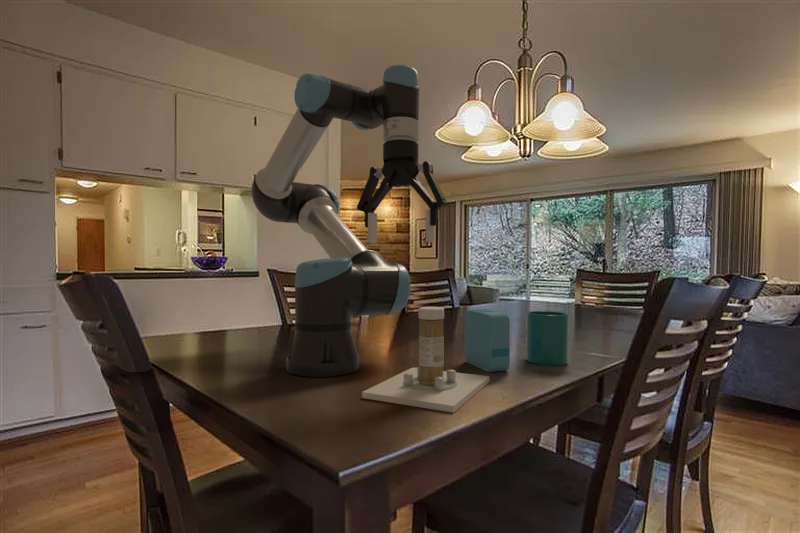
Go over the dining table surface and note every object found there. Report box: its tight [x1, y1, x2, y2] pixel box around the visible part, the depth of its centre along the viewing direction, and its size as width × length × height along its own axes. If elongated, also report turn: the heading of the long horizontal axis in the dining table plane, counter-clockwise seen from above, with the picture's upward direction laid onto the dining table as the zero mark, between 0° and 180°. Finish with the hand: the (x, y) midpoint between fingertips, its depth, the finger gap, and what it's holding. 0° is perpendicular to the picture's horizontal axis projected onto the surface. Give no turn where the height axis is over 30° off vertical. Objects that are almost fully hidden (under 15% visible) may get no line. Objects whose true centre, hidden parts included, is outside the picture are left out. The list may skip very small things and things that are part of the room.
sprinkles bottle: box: [417, 306, 445, 386], centre depth 80 cm, size 5×5×14 cm
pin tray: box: [361, 366, 490, 413], centre depth 80 cm, size 16×20×3 cm
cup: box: [525, 310, 569, 367], centre depth 104 cm, size 9×12×11 cm
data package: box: [464, 309, 511, 373], centre depth 98 cm, size 12×4×12 cm, turn 17°
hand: (400, 242), depth 96 cm, fingers open, 13 cm apart
